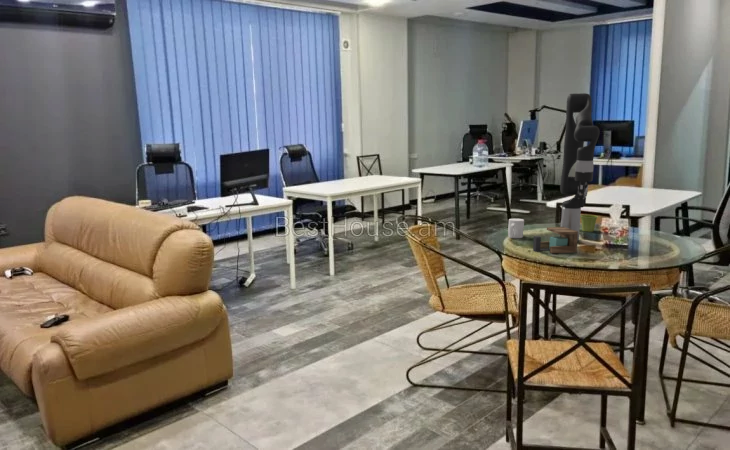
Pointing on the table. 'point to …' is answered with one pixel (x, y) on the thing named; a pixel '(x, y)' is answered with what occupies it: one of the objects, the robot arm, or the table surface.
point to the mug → (515, 228)
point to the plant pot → (588, 222)
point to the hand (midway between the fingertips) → (581, 206)
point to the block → (553, 242)
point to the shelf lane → (565, 233)
